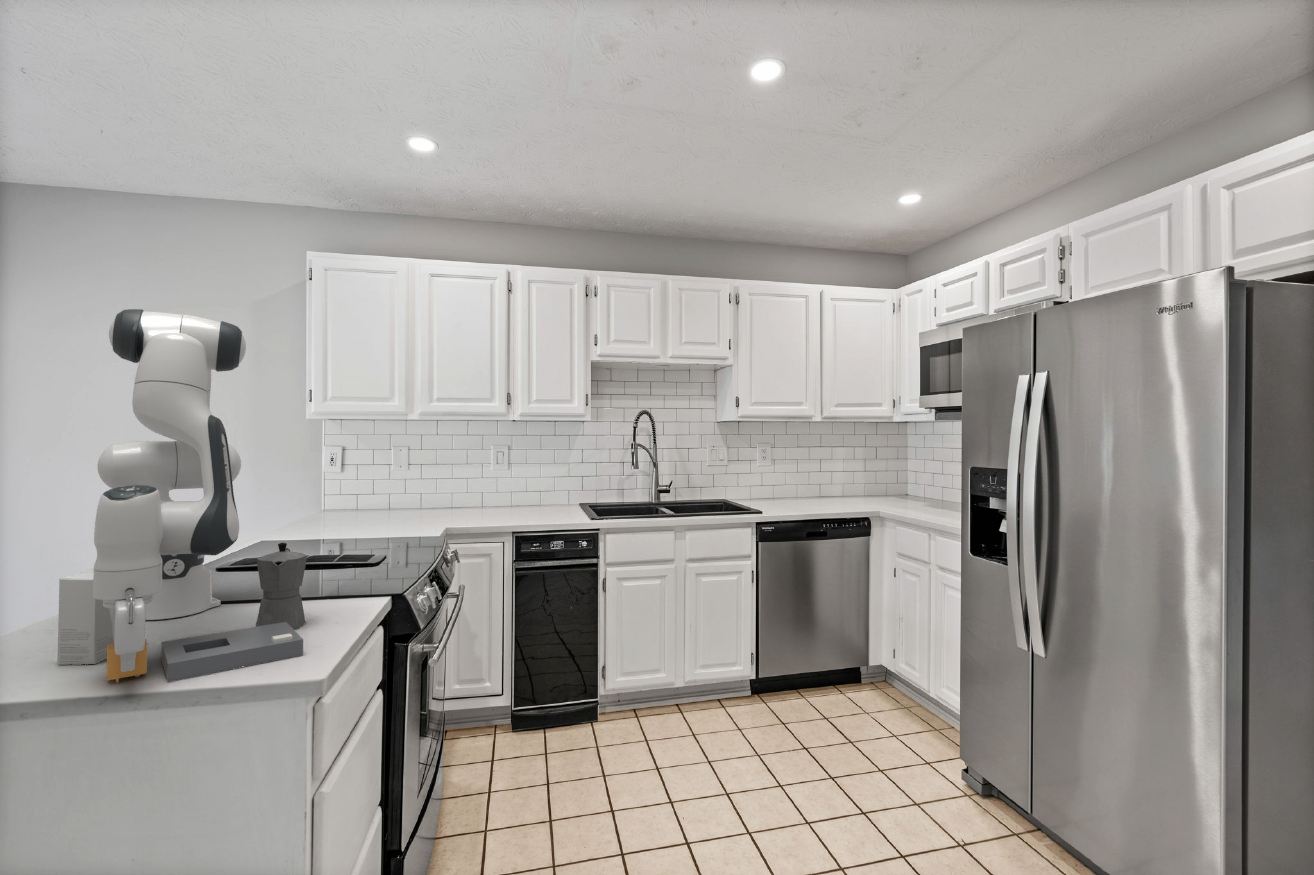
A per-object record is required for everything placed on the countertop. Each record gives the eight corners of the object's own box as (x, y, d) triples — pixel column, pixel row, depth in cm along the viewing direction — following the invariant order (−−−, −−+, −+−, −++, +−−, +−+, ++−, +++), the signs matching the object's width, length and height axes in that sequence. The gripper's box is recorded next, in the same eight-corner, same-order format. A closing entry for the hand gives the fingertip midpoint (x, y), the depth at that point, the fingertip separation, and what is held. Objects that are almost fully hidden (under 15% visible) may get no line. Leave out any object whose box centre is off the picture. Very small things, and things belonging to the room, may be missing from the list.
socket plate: (160, 658, 114) (161, 638, 114) (285, 636, 127) (286, 618, 127) (167, 681, 103) (168, 660, 103) (302, 655, 117) (303, 636, 117)
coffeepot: (302, 633, 129) (304, 546, 129) (249, 638, 125) (251, 549, 125) (309, 613, 143) (311, 535, 143) (261, 617, 139) (263, 537, 139)
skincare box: (93, 649, 117) (95, 567, 117) (131, 649, 118) (132, 567, 118) (54, 666, 109) (56, 577, 109) (94, 665, 110) (96, 577, 110)
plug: (106, 678, 104) (107, 644, 104) (145, 671, 107) (145, 638, 107) (106, 685, 101) (107, 649, 101) (146, 677, 105) (147, 643, 105)
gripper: (157, 593, 99) (155, 680, 99) (148, 570, 114) (147, 645, 114) (104, 599, 95) (102, 690, 95) (102, 575, 110) (101, 653, 110)
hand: (127, 665), depth 104 cm, fingers closed on plug, 3 cm apart
